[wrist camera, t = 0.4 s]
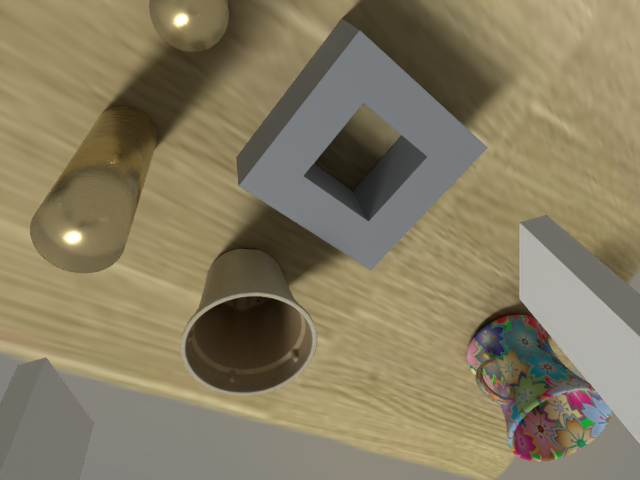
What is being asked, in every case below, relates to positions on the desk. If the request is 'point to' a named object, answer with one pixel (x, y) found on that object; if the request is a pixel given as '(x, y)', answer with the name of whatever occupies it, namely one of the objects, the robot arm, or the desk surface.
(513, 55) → the desk surface
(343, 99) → the slate block
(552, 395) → the mug
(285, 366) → the flower pot
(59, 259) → the long pin
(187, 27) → the short pin
